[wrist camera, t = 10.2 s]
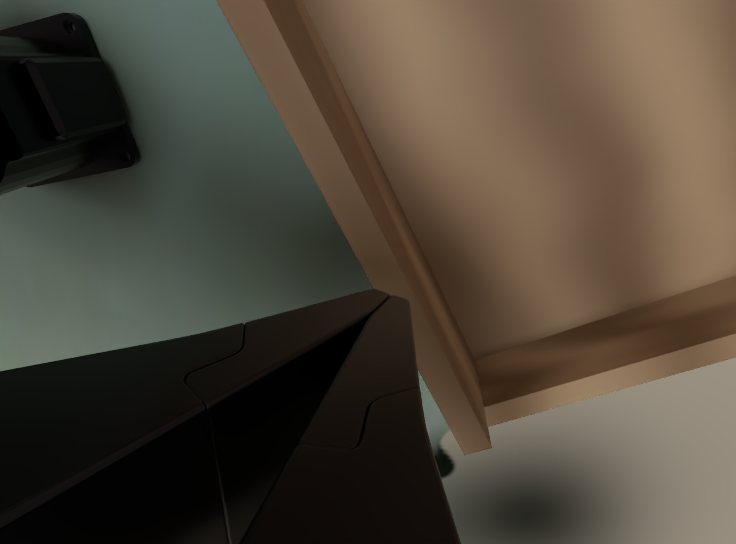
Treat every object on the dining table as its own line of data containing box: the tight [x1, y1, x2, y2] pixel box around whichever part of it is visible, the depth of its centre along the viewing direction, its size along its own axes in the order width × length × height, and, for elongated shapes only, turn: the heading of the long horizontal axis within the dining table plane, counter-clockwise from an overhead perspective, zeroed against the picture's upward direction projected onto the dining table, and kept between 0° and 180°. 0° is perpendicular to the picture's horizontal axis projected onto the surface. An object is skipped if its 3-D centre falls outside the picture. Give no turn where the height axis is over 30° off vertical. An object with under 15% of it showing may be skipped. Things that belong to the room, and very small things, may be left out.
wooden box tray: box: [216, 0, 736, 455], centre depth 14 cm, size 16×23×9 cm
